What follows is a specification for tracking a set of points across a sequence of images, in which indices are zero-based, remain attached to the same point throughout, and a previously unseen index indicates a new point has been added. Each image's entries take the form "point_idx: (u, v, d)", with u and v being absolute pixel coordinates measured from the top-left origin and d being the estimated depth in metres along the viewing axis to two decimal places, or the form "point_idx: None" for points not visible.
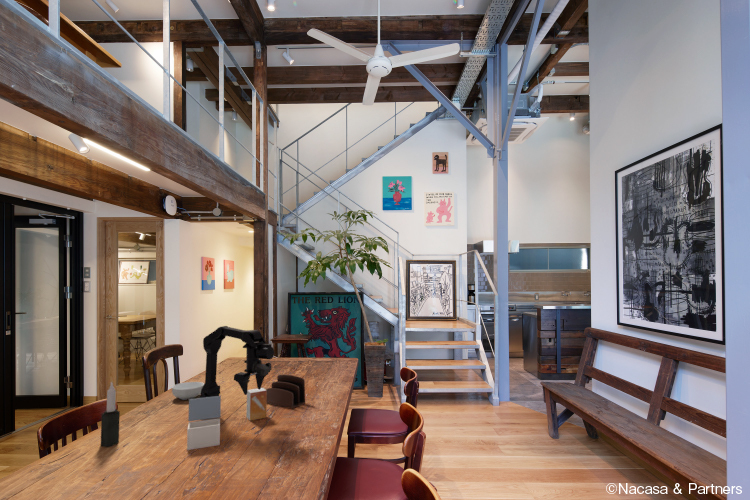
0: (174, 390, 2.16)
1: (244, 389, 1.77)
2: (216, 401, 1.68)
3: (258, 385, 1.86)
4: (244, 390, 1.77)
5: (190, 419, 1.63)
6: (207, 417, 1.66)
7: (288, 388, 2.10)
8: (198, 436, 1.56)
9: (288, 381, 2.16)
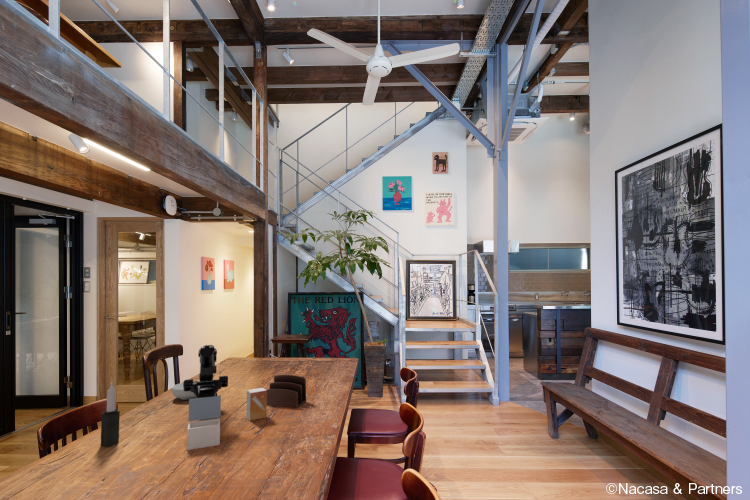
0: (174, 390, 2.16)
1: (196, 396, 1.74)
2: (216, 401, 1.68)
3: (212, 396, 1.76)
4: (196, 397, 1.74)
5: (190, 419, 1.63)
6: (207, 417, 1.66)
7: (289, 388, 2.10)
8: (198, 436, 1.56)
9: (287, 381, 2.16)
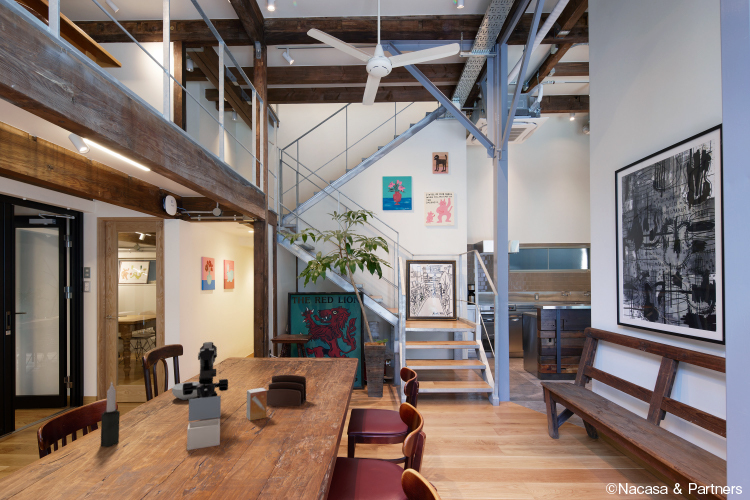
0: (174, 390, 2.16)
1: None
2: (216, 401, 1.68)
3: None
4: None
5: (190, 419, 1.63)
6: (207, 417, 1.66)
7: (290, 387, 2.11)
8: (198, 436, 1.56)
9: (286, 381, 2.16)
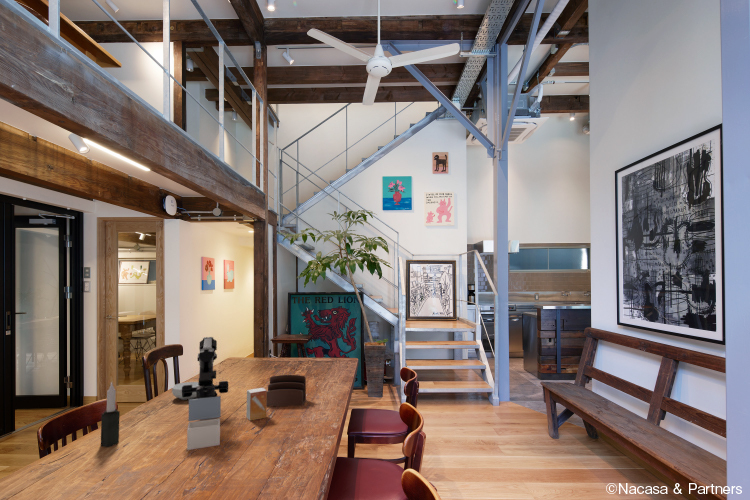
0: (174, 390, 2.16)
1: None
2: (216, 401, 1.67)
3: None
4: None
5: (190, 419, 1.63)
6: (207, 417, 1.65)
7: (290, 387, 2.11)
8: (198, 436, 1.56)
9: (285, 381, 2.16)
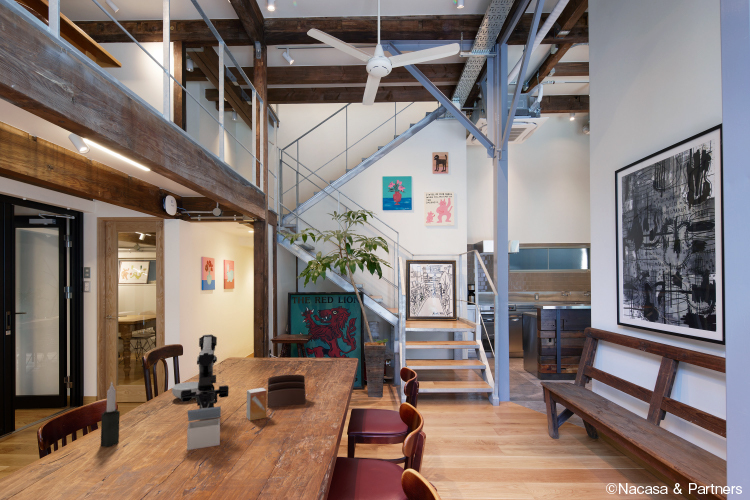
0: (174, 390, 2.16)
1: (201, 406, 1.64)
2: (216, 410, 1.62)
3: None
4: None
5: (190, 420, 1.63)
6: (207, 418, 1.65)
7: (291, 387, 2.12)
8: (198, 436, 1.56)
9: (283, 381, 2.15)
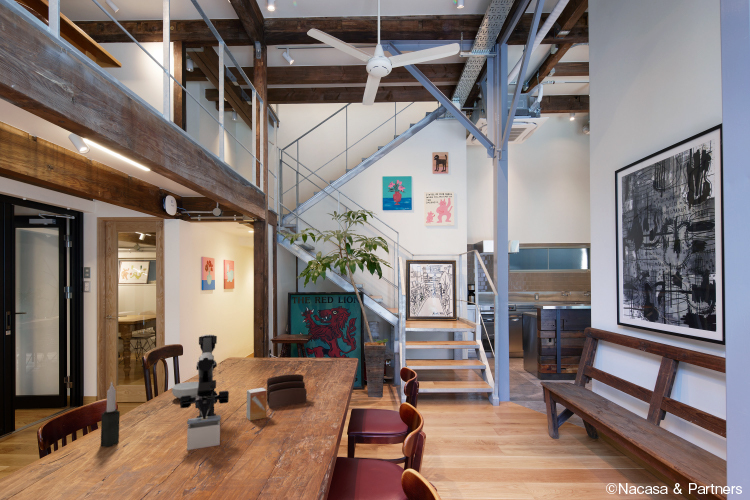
0: (174, 390, 2.16)
1: (201, 412, 1.60)
2: None
3: None
4: (201, 414, 1.60)
5: None
6: None
7: (291, 387, 2.12)
8: (198, 436, 1.56)
9: (282, 381, 2.15)
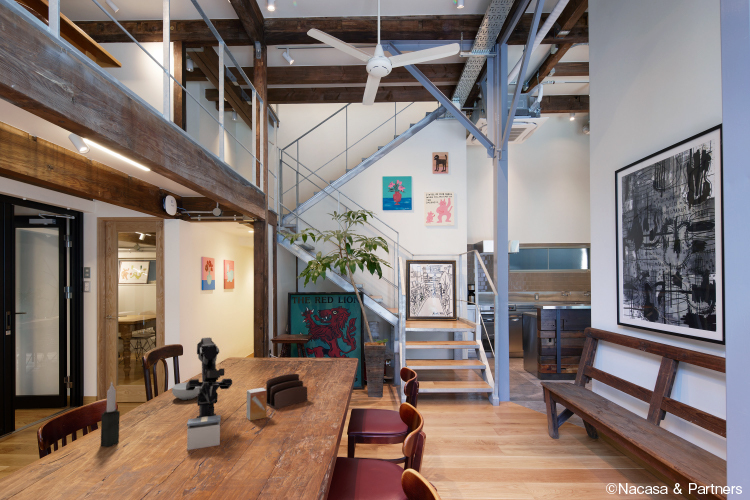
0: (174, 390, 2.16)
1: (207, 397, 1.73)
2: None
3: None
4: (207, 398, 1.73)
5: None
6: None
7: (291, 386, 2.13)
8: (198, 436, 1.56)
9: (281, 382, 2.14)
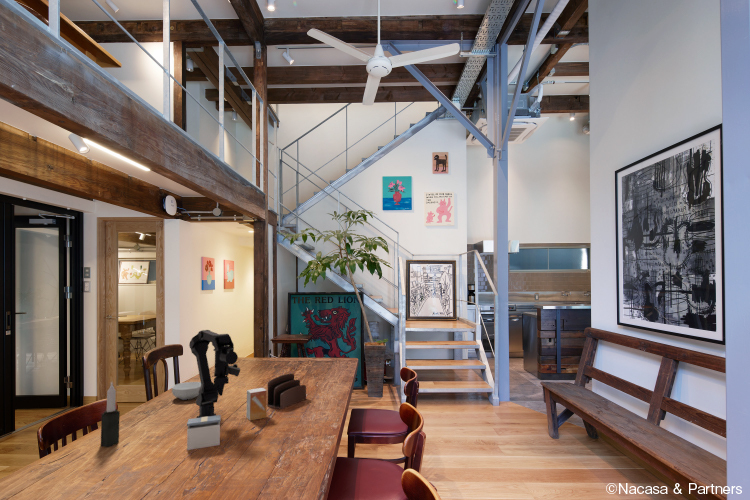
0: (174, 390, 2.16)
1: (221, 390, 1.82)
2: None
3: None
4: (220, 391, 1.82)
5: None
6: None
7: (290, 386, 2.14)
8: (198, 436, 1.56)
9: (280, 382, 2.13)
